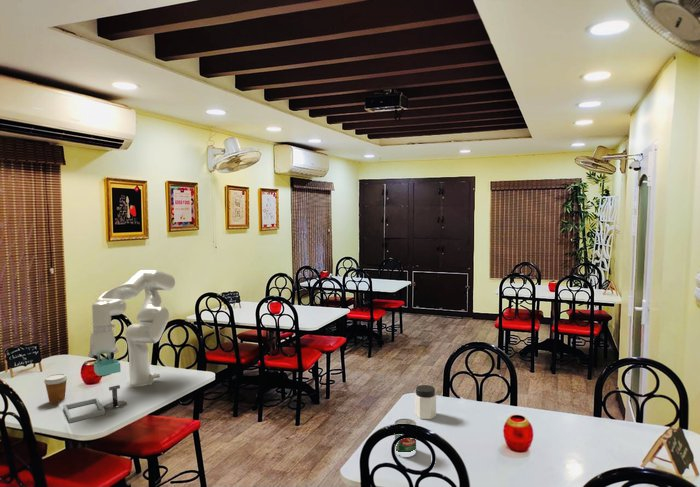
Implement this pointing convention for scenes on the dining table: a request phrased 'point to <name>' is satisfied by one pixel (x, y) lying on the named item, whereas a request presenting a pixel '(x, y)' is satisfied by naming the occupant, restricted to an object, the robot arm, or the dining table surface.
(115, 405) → the grey t-shaped stand
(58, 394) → the disposable coffee cup
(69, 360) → the dining table surface
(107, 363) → the teal box on base
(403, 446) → the canned tomato
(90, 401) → the tray
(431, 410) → the jar
